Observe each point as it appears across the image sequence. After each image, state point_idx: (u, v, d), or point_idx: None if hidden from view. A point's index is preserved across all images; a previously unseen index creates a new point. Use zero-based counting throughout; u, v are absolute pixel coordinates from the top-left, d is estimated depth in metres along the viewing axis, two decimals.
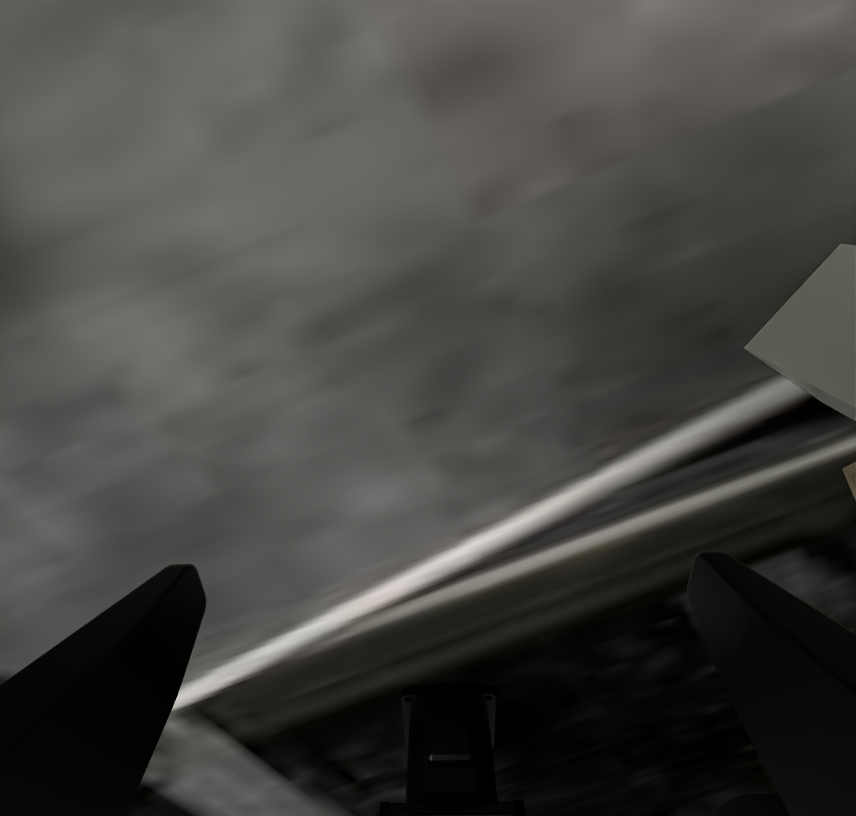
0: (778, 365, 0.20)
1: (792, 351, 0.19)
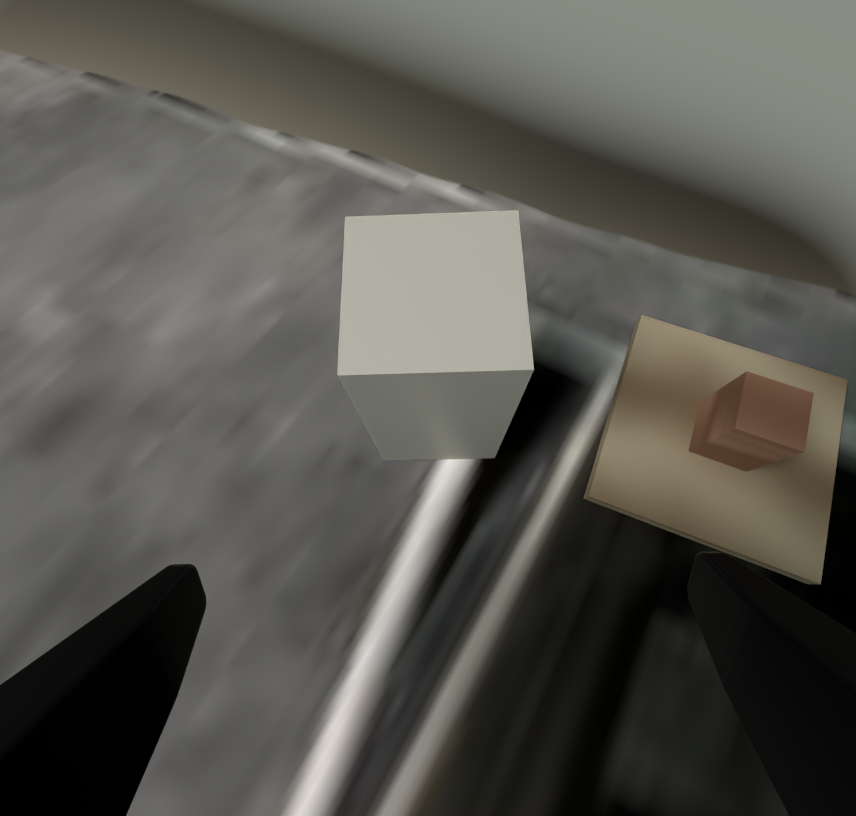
0: (377, 447, 0.21)
1: None
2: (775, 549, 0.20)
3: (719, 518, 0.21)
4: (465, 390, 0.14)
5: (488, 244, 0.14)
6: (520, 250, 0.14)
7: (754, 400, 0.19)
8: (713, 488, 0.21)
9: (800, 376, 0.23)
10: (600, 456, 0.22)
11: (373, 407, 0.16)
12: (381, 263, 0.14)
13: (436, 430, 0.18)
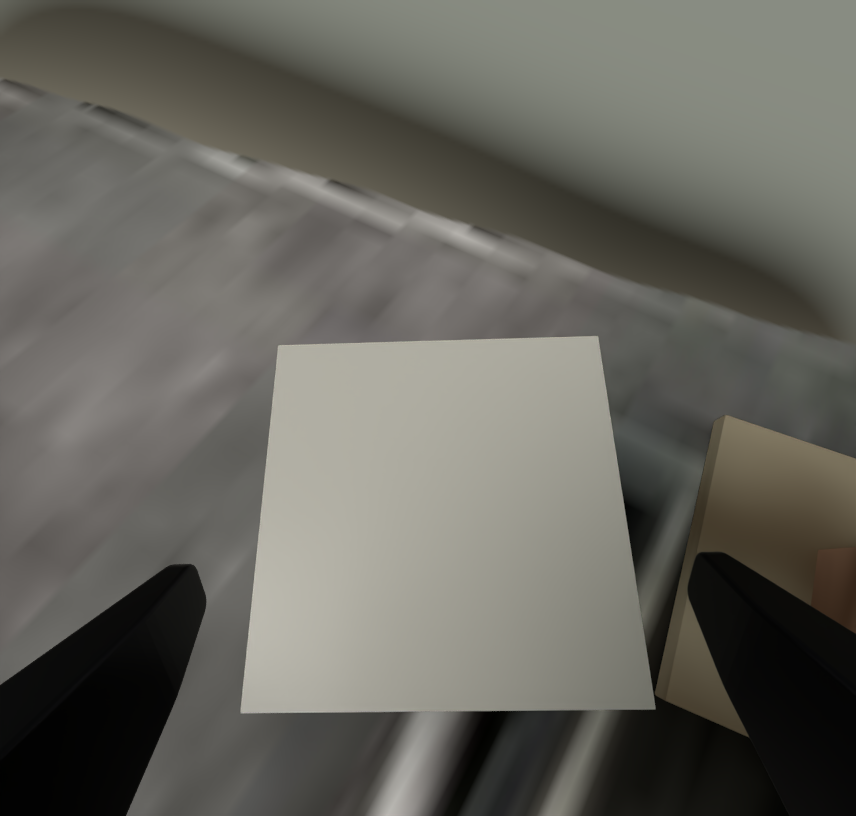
0: None
1: None
2: None
3: None
4: None
5: (545, 406, 0.07)
6: (608, 420, 0.07)
7: None
8: None
9: None
10: (679, 634, 0.15)
11: None
12: (341, 444, 0.07)
13: None
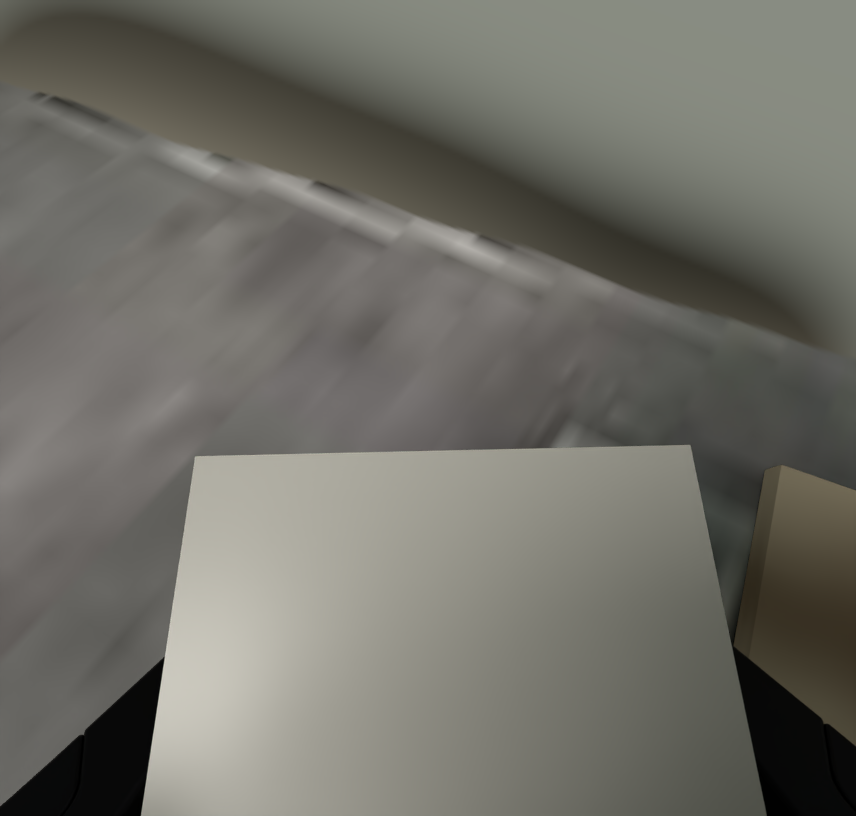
0: None
1: None
2: None
3: None
4: None
5: (614, 567, 0.05)
6: (715, 594, 0.05)
7: None
8: None
9: None
10: None
11: None
12: (285, 632, 0.05)
13: None
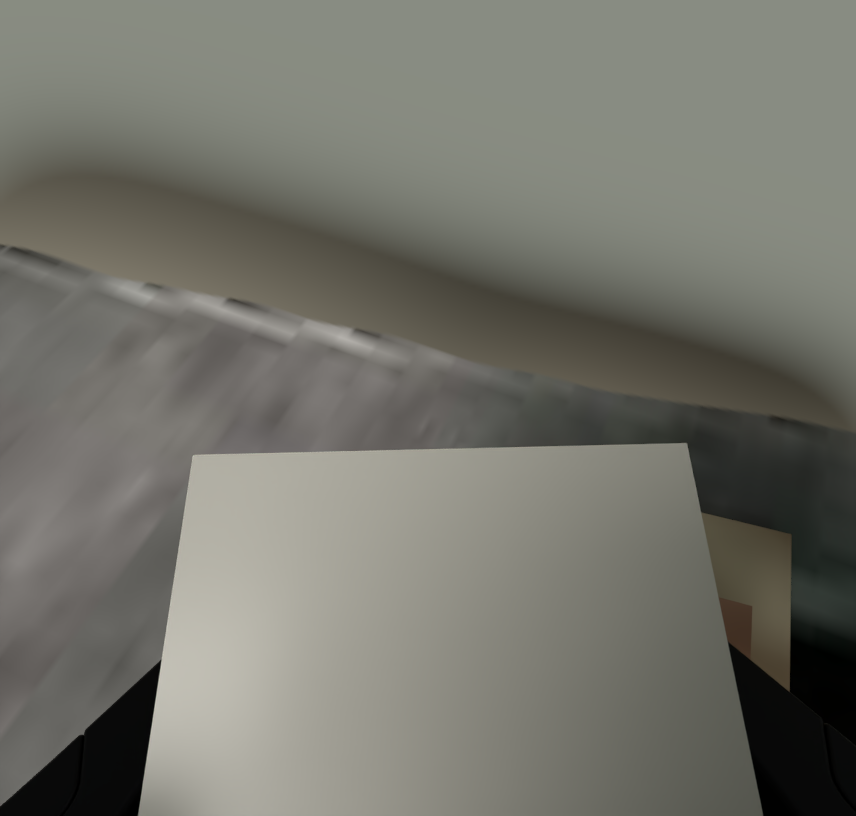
0: None
1: None
2: None
3: None
4: None
5: (610, 565, 0.05)
6: (712, 591, 0.05)
7: None
8: None
9: (741, 536, 0.21)
10: None
11: None
12: (282, 631, 0.05)
13: None
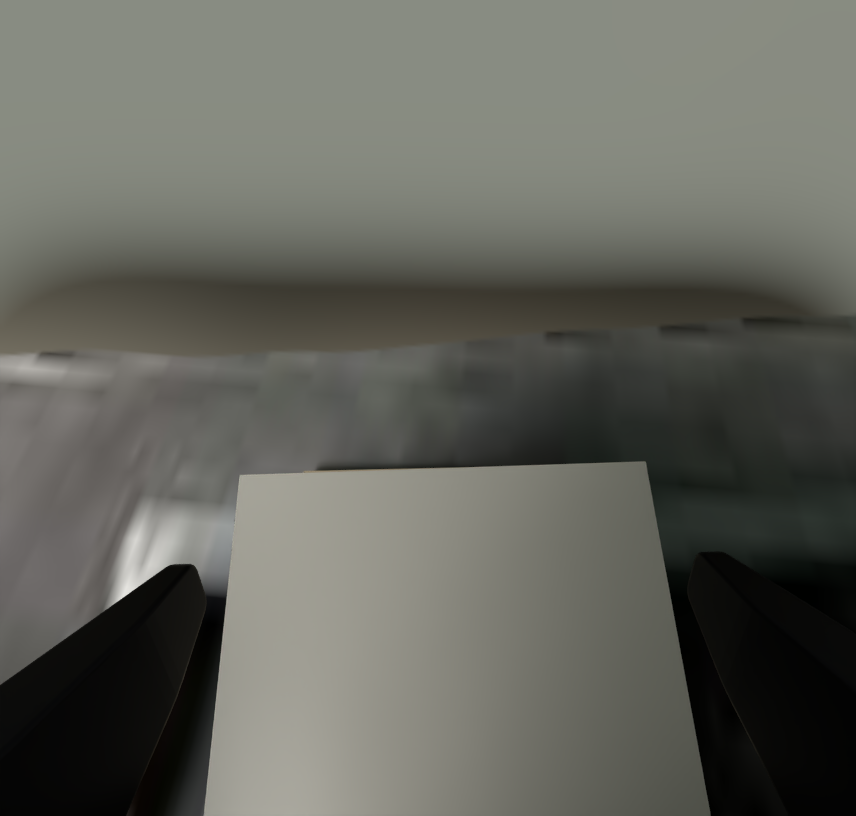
0: None
1: None
2: None
3: None
4: None
5: (582, 562, 0.06)
6: (663, 582, 0.06)
7: None
8: None
9: None
10: None
11: None
12: (319, 618, 0.06)
13: None
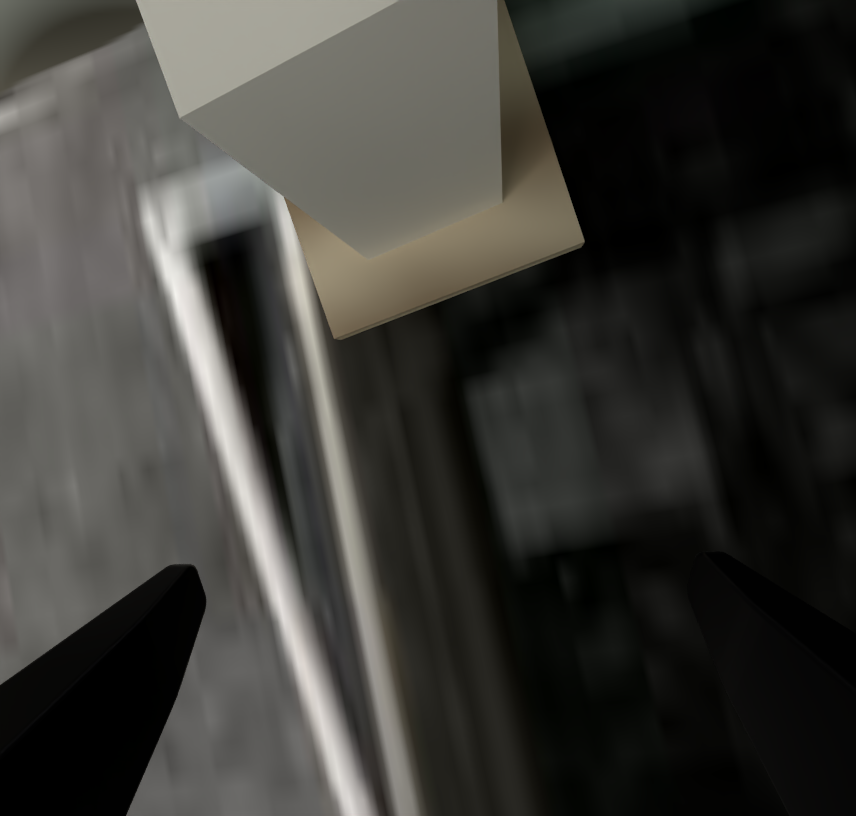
0: (346, 243, 0.16)
1: None
2: (525, 242, 0.17)
3: (457, 257, 0.17)
4: (400, 70, 0.08)
5: None
6: None
7: None
8: None
9: None
10: (318, 290, 0.19)
11: (288, 170, 0.10)
12: None
13: (403, 182, 0.13)
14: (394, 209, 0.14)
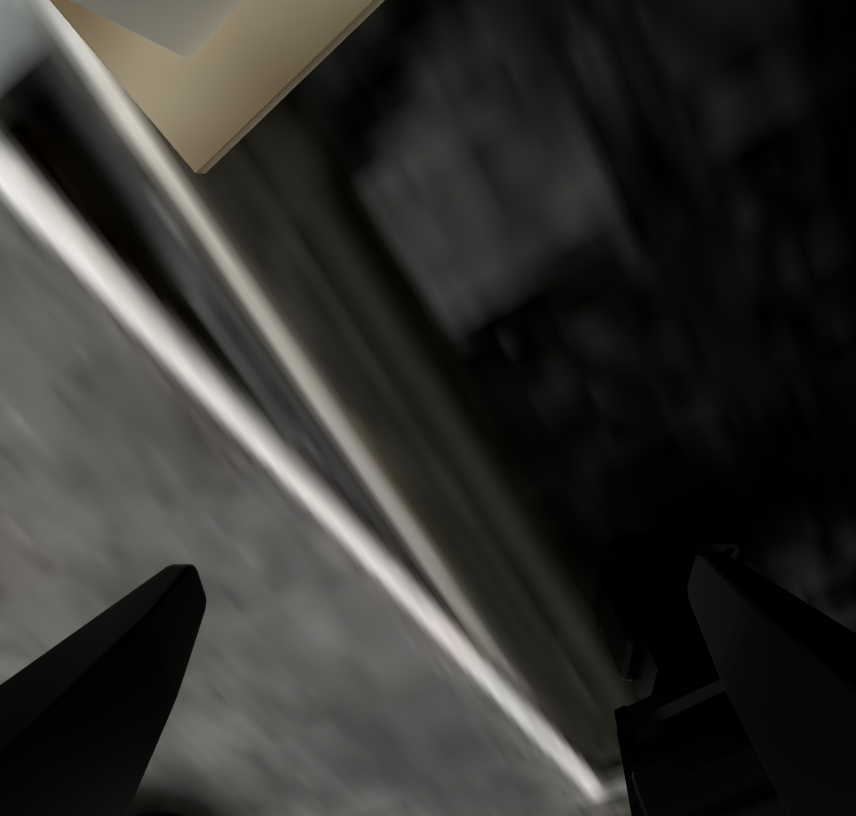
0: (148, 38, 0.13)
1: None
2: None
3: (288, 22, 0.15)
4: None
5: None
6: None
7: None
8: None
9: None
10: (152, 119, 0.16)
11: None
12: None
13: None
14: None
